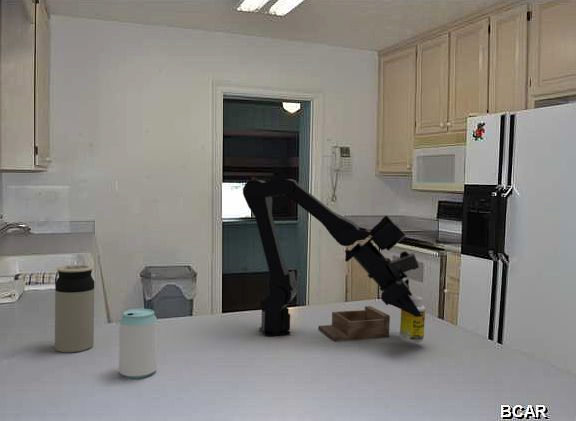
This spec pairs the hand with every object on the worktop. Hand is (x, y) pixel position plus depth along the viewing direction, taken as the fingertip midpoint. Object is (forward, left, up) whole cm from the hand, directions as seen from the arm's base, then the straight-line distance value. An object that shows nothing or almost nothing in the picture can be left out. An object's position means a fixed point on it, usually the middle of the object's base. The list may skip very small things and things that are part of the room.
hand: (418, 312), depth 118 cm
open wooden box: (-11, +13, -8) cm, 19 cm away
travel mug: (-77, +18, -8) cm, 80 cm away
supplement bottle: (-1, +1, -7) cm, 7 cm away
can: (-64, -1, -8) cm, 65 cm away
